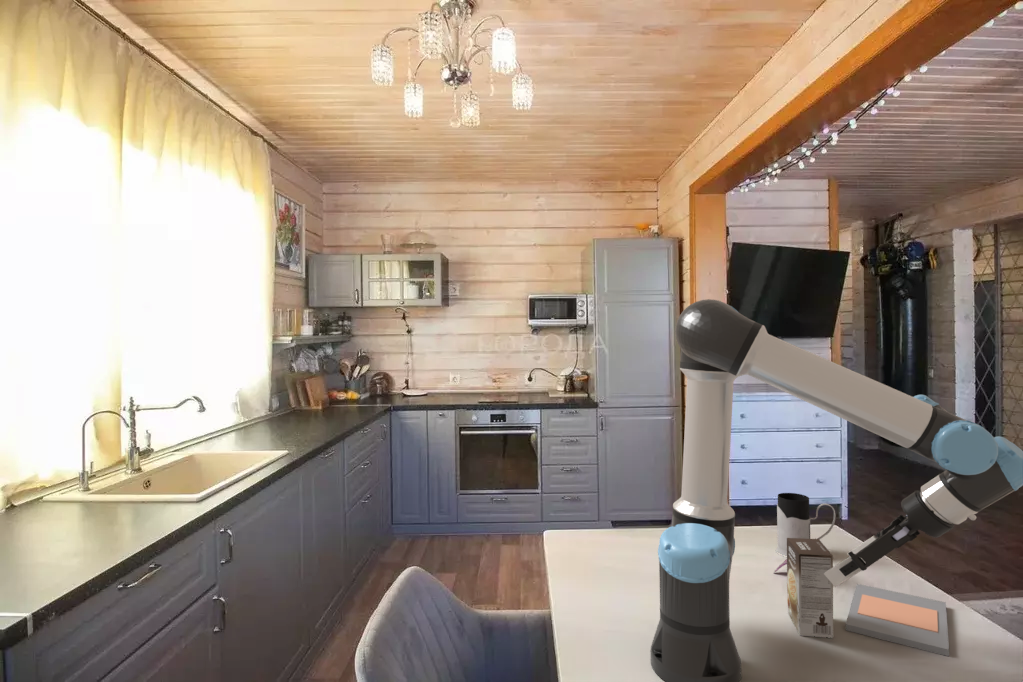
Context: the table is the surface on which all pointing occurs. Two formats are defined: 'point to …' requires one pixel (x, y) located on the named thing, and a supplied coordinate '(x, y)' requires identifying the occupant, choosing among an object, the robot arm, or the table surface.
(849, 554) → the robot arm
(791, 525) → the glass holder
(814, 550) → the coffee box
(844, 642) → the table surface
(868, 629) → the slate plate
